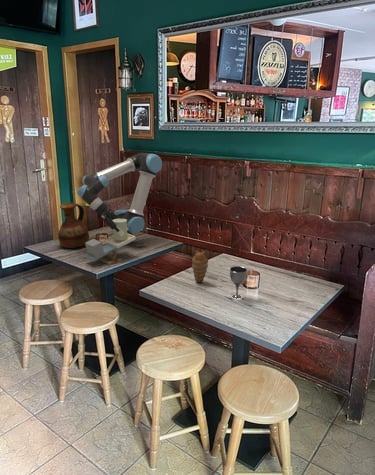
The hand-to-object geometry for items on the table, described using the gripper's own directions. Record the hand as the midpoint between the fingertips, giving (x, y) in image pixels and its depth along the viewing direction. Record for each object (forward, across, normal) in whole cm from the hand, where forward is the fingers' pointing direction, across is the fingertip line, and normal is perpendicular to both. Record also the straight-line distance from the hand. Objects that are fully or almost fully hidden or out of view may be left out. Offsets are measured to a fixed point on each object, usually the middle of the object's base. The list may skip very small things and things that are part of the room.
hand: (125, 232), depth 233 cm
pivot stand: (+5, +7, -18) cm, 20 cm away
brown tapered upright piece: (+46, +33, +23) cm, 61 cm away
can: (+1, 0, -5) cm, 5 cm away
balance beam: (+1, +6, -12) cm, 13 cm away
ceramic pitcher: (-17, -18, -40) cm, 47 cm away
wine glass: (+60, +48, +37) cm, 85 cm away
